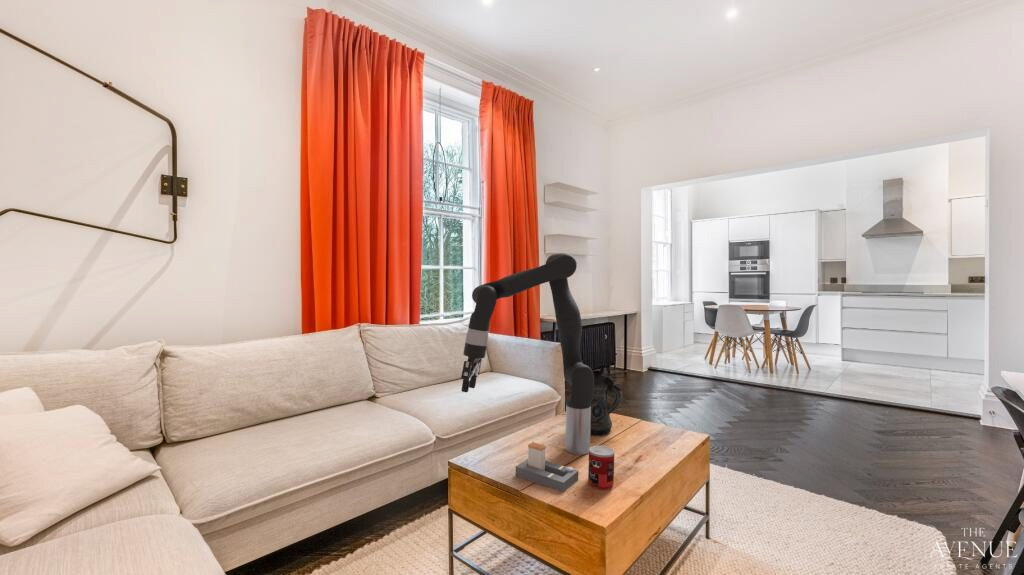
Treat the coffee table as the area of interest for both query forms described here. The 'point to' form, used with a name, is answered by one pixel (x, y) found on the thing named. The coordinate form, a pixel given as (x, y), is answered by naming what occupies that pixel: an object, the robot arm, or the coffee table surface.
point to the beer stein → (603, 404)
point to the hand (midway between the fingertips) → (468, 389)
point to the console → (549, 475)
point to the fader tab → (536, 455)
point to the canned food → (601, 467)
